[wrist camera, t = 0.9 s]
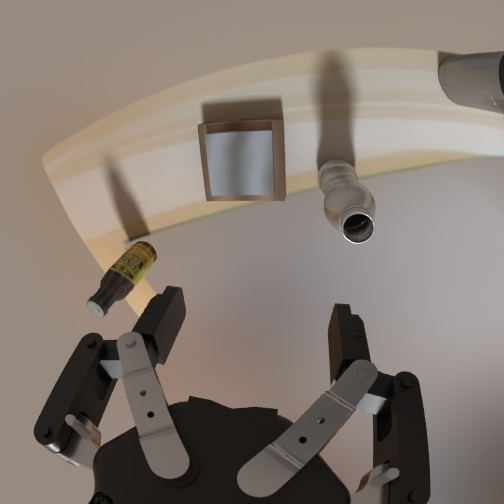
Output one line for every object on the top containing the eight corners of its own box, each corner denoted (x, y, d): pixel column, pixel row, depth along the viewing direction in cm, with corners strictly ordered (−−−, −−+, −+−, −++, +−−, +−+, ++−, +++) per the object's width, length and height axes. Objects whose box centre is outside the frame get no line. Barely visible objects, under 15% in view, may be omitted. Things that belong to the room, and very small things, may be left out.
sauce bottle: (160, 246, 57) (113, 309, 40) (155, 267, 60) (112, 329, 44) (134, 234, 56) (81, 290, 40) (130, 255, 60) (83, 313, 43)
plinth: (283, 118, 40) (281, 120, 36) (285, 193, 47) (284, 204, 43) (204, 122, 42) (194, 126, 38) (212, 194, 49) (203, 204, 45)
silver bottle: (332, 200, 46) (349, 266, 29) (308, 170, 44) (314, 221, 27) (362, 180, 43) (398, 235, 26) (338, 148, 41) (367, 185, 24)
